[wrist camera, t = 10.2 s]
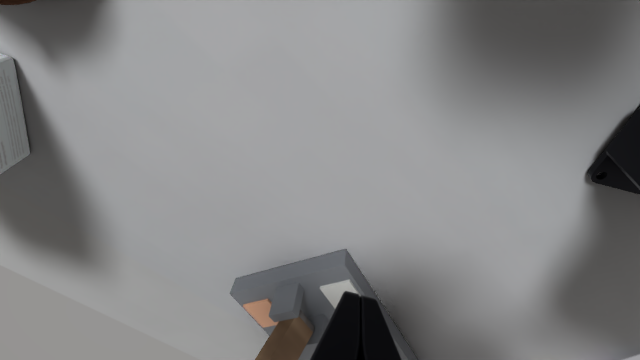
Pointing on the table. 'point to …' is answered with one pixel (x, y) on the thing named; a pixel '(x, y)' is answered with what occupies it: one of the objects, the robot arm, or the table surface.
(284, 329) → the walnut lever
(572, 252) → the table surface
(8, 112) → the supplement box
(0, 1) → the cup and saucer
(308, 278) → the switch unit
